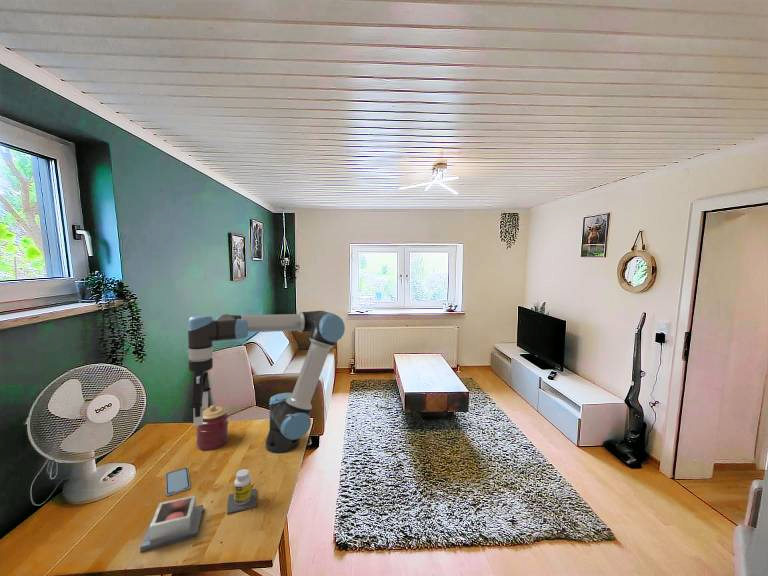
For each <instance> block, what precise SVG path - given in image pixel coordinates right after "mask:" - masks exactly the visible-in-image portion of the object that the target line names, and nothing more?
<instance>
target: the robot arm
mask: <svg viewBox="0 0 768 576" xmlns="http://www.w3.org/2000/svg"><path fill="white" fill-rule="evenodd" d="M187 325H188V326H187V328H188V329H187V343H188V350H187V349H186V353H187V354H188V359H189V360H188V371H189V372H192V373H195V374H194V375H193V388H192V389H193V391H192V392H193V394H192V403H191V404H192V405H190V409H192V411H193V416H192V417H193V419H192V422H193V427H195V426H196V427H197V425H203V410H205V409H208V408H209V391H211V387H210V384H209V372H208V371H210V370H212V369H213V366H214V362H213V358H212V357H213V356H214V350H213V349H214V346H213V342H218V341H221V342H222V341H232V340H241V339H246V338H247V337H248V336H249V333H266V332H267V333H269V332H271V333H273V332H290V331H291V332H292V331H294V332H295V331H296V332H299V333H308V334H310V335H309V341H310V345H309V348H308V351H307V352H306V356H305V359H304V361H303V364H302V367H301V368H300V372H299V375H298V377H297V380H296V383H295V385H294V388H293V390H292V392H282V393H277V394H275V395H272V396H271V397H270V399H269V430H268V433H267V436H266V439H265V445H264V447H265V450H267V451H268V452H270V453H277V454H280V453H281V452H283V453H287V452H290V451H292V450H291V449H293V450H294V449H296V448H297V447H298V446H299V445H300V442H301V441H300V439H301V438H302V437H304V436H305V435H306V434H307V433H308V432H309V430H310V428H311V425H312V420H311V417H310V415H311V412H312V409H313V405H312V403H311V402H312V399H313V395H314V393H315V390H316V388H317V385H318V384H319V383H318V382H319V379H320V377H321V375H322V374H321V373H322V371H323V369H324V367H325V362H326V361H327V358H328V354H329V352H330V350H331V349H333V348H334V347H335V346H336V344H337V341H339V340H341V339H342V337H344V333H345V329H346V327H345V322H344V321H343V319H342V317H340V316H339V315H337V314H335V313H332V312H328V311H325V310H311V311H299V312H298V313H295V314H294V313H291V314H290V313H289V314H286V313H285V314H238V315H237V314H236V315H235V314H234V315H233V314H232V315H231V314H227V313H225V314H224V313H223V314H221V315H219V316H217V317H216V319H215V320H214V319H213V316H212V315H208V314H207V315H204V314H203V315H199V314H198V315H193V316H191V317H189V318H188V324H187ZM298 444H299V445H298ZM295 447H296V448H295ZM289 450H290V451H289ZM286 451H287V452H286ZM281 454H282V453H281Z"/></svg>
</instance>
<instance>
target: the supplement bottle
mask: <svg viewBox="0 0 768 576" xmlns="http://www.w3.org/2000/svg"><path fill="white" fill-rule="evenodd" d="M235 475H236V476H235V479H234V482H233V485H234V486H233V494H234V502H235V504H237V505H242V504H245V503H247V502H248V501H249V500H250V499H251V489H252V477H251V475H250V470H249V469H246V468H243V469H240V470H238V471H237V472H236V474H235Z"/></svg>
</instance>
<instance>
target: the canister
mask: <svg viewBox="0 0 768 576" xmlns="http://www.w3.org/2000/svg"><path fill="white" fill-rule="evenodd" d="M228 417H229V413H227V409H226V408H224V407H222V406H216V405H214V404H213V405H210V406H209V407H208V409H203V425H197V426H196V428H195V429H196V441H195V442H196V447H197V449H199V450H201V451H211V450H216V449H219V448H220V447H222V446H224V445H225V444H226V443H227V442H228V440H229V420H228Z"/></svg>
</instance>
